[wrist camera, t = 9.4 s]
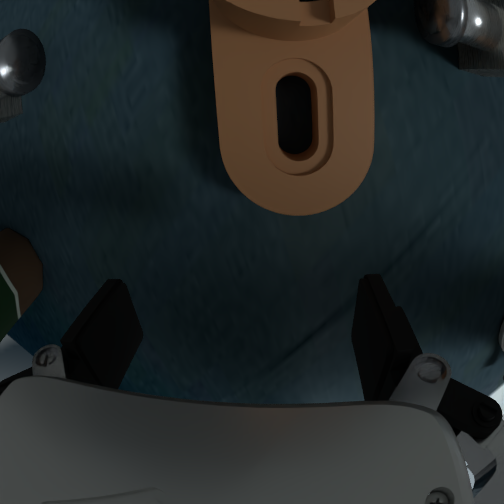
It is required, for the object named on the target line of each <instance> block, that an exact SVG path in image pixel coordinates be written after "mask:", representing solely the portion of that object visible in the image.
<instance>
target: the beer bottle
mask: <svg viewBox="0 0 504 504" xmlns="http://www.w3.org/2000/svg"><path fill="white" fill-rule="evenodd" d="M42 288H43V264H42V262H41V261H40V259H39V257H38V256H37V254H36V252H35V250H34V249H33V247H32V245H31V243H30V242H29V240H28V239H27V238H25V237H23V236H22V235H20V234H18V233H16V232H15V231H13V230H11V229H10V228H6V229H4V230H2V231H1V232H0V342H1V341H2V339H3V338H4V337H5V335H6V334H7V333H8V332H9V330H10V329H11V328H12V327H13V325H14V324H15V323H16V322H17V320H18V319H19V318H20V317H21V315H22V314H23V313H24V312H25V311H26V309H27V308H28V307H29V306H30V305H31V304H32V302H33V301H34V300H35V299H36V297H37V296H38V295H39V293H40V292H41V291H42Z"/></svg>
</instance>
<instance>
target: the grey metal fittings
mask: <svg viewBox="0 0 504 504" xmlns="http://www.w3.org/2000/svg"><path fill="white" fill-rule="evenodd" d="M414 14H415V20H416V23H417V26H418V29H419V31H420V33H421V35H422V36H423V37H424V39H425V40H426V41H428V42H429V43H431V44H435V45H439V46H443V47H452V46H454V45H456V44H457V48H458V57H459V69H460V70H463V71H467V72H470V73H474V74H477V75H480V76H486V77H504V0H414ZM45 66H46V58H45V52H44V48H43V45H42V43H41V41H40V40H39V38H38V37H37V36H36V35H35V34H34V33H33V32H31V31H30V30H27V29H17V30H15V31H13V32H11V33H10V34H8V35H7V36H5V37H4V38H3V39H2V40H1V41H0V123H3V122H6V121H8V120H10V119H12V118H14V117H16V116H18V115H20V114H22V113H23V111H22V102H21V96H22V95H25V94H27V93H28V92H30V91H32V90H34V89H35V88H36V87H37V86H38V85H39V84H40V82H41V80H42V78H43V76H44V72H45Z"/></svg>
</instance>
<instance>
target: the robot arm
mask: <svg viewBox="0 0 504 504" xmlns="http://www.w3.org/2000/svg"><path fill="white" fill-rule="evenodd" d="M351 337H352V343H353V348H354V352H355V356H356V361H357V365H358V370H359V375H360V380H361V384H362V389H363V394H364V399H365V401H351V402H334V403H308V404H249V403H227V402H211V401H199V400H189V399H179V398H171V397H163V396H155V395H149V394H142V393H136V392H130V391H124V390H118V388H119V386H120V384H121V381H122V379H123V377H124V375H125V373H126V371H127V369H128V367H129V365H130V363H131V361H132V359H133V357H134V355H135V353H136V351H137V349H138V347H139V345H140V343H141V341H142V338H143V331H142V328H141V325H140V323H139V320H138V317H137V314H136V312H135V309H134V306H133V303H132V300H131V297H130V294H129V292H128V289H127V286H126V284H125V283H123V281H122V280H120V279H108V280H107V281H106V282H105V283H104V284H103V286H102V287H101V288H100V289H99V291H98V292H97V293H96V294H95V295H94V297H93V298H92V299H91V300H90V302H89V303H88V304H87V306H86V307H85V308H84V309H83V311H82V312H81V313H80V315H79V316H78V317H77V318H76V320H75V321H74V322H73V324H72V325H71V326H70V328H69V329H68V330H67V332H66V333H65V334H64V336H63V337H62V339H61V340H60V341H61V343H62V345H63V346H62V348H60V347H59V346H57V345H47V346H44V347H42V348H41V349H40V350H38V351H37V352H36V354H35V355H34V357H33V361H32V367H31V368H29V369H26V370H24V371H22V372H20V373H17V374H15V375H13V376H11V377H9V378H7V379H4V380H2V381H1V382H0V504H504V420H503V419H502V410H501V407H500V405H499V404H498V403H497V402H496V401H495V400H494V399H492V398H491V397H489V396H487V395H484V394H482V393H480V392H478V391H476V390H474V389H472V388H470V387H468V386H466V385H464V384H462V383H460V382H458V381H456V380H454V379H452V378H450V377H451V368H450V366H449V364H448V362H447V361H446V360H445V359H444V358H442V357H440V356H439V355H436V354H432V353H425V354H423V353H422V350H421V348H420V346H419V343H418V341H417V339H416V337H415V334H414V332H413V330H412V328H411V326H410V324H409V321H408V319H407V317H406V315H405V313H404V311H403V309H402V308H401V307H400V306H397V307H396V306H395V304H394V302H393V300H392V298H391V296H390V294H389V292H388V290H387V288H386V285H385V283H384V281H383V279H382V277H381V275H380V274H366V275H365V276H364V278H363V279H360V280H359V286H358V293H357V301H356V307H355V314H354V320H353V327H352V334H351ZM499 345H500V346H501V348H502V350H503V351H504V320H503V323H502V325H501V329H500V332H499ZM503 380H504V376H503ZM465 461H466V462H467V463H468V465H467V466H466V463H465ZM467 468H469V469H470V471H471V472H472V473H473V475H474V478H475V483H474V488H473V489H472V488H471V483H470V479H469V475H468V471H467ZM428 494H429V495H428Z"/></svg>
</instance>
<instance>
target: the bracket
mask: <svg viewBox="0 0 504 504" xmlns="http://www.w3.org/2000/svg"><path fill="white" fill-rule="evenodd" d="M375 1H376V0H318V1H311V2H299V0H209V10H210V26H211V41H212V56H213V69H214V83H215V95H216V108H217V119H218V131H219V142H220V151H221V156H222V160H223V163H224V166H225V168H226V171H227V173H228V175H229V176H230V178H231V180H232V181H233V183H234V184H235V185H236V187H237V188H238V189H239V190H240V191H241V192H242V193H243V194H244V195H245V196H246V197H247V198H249V199H250V200H251V201H253V202H254V203H256V204H257V205H259V206H261V207H263V208H265V209H268V210H270V211H273V212H276V213H280V214H285V215H296V216H298V215H311V214H316V213H320V212H323V211H326V210H328V209H330V208H333V207H335V206H336V205H338V204H340V203H341V202H343V201H344V200H345V199H347V198H348V197H349V196H350V195H351V194H352V193H353V192H354V191H355V190H356V189H357V188H358V187H359V185H360V184H361V182H362V181H363V179H364V178H365V176H366V174H367V172H368V169H369V167H370V164H371V161H372V156H373V150H374V81H373V62H372V47H371V36H370V26H369V17H368V9H367V7H369V6H370V5H371V4H372V3H373V2H375ZM286 76H298V77H300V78H302V79H304V80H305V81H306V82H307V83H308V85H309V87H310V90H311V107H312V143H311V145H310V147H309V148H308V149H307V150H306V151H304V152H302V153H300V154H290V153H287V152H285V151H284V150H282V149H281V147H280V146H279V144H278V129H277V110H276V93H275V89H276V84H277V82H278V81H279V80H280V79H282V78H284V77H286Z"/></svg>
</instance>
